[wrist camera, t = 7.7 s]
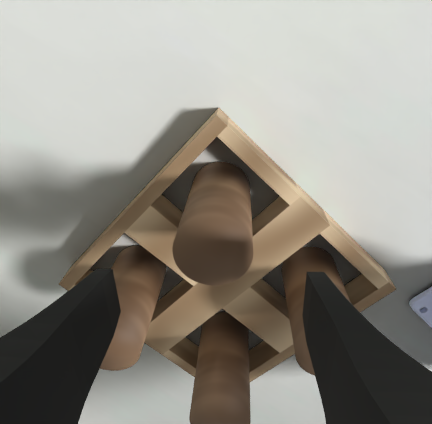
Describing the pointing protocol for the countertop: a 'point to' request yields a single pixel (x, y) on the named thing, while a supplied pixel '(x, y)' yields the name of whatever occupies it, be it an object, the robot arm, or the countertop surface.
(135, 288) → the stool seat
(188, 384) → the countertop surface
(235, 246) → the loose leg
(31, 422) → the robot arm
